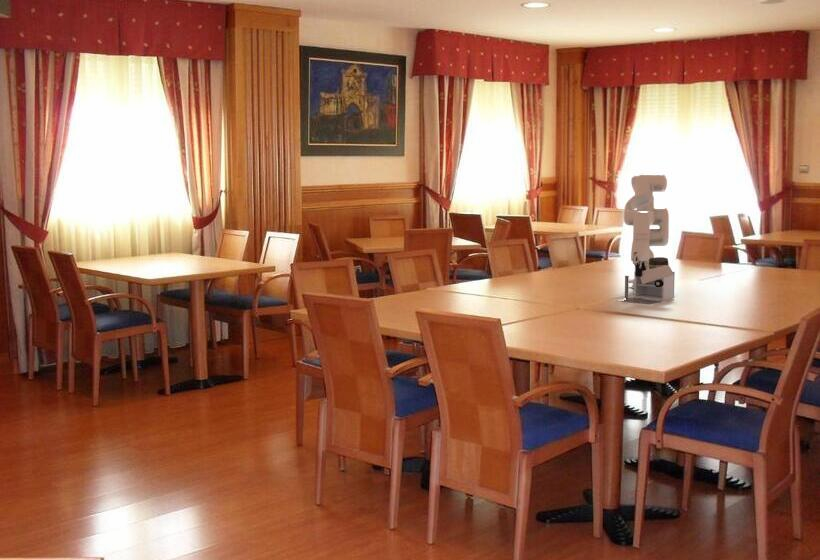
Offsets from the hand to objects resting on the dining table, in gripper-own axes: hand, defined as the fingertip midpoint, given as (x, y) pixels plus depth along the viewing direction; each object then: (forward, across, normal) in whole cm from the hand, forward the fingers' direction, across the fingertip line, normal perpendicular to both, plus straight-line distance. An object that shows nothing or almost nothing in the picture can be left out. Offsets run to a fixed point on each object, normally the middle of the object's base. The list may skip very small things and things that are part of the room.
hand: (640, 275), depth 467 cm
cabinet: (+12, -13, 0) cm, 18 cm away
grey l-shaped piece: (+12, 0, -1) cm, 12 cm away
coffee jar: (+12, -26, -5) cm, 29 cm away
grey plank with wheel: (+3, 0, +1) cm, 3 cm away
